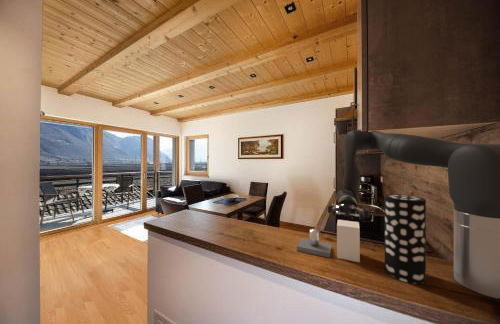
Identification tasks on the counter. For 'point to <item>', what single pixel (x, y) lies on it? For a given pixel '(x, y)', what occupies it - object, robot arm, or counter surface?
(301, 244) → the base plate
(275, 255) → the counter surface
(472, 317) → the counter surface
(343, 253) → the block
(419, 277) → the white-spotted black cylinder
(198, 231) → the counter surface
